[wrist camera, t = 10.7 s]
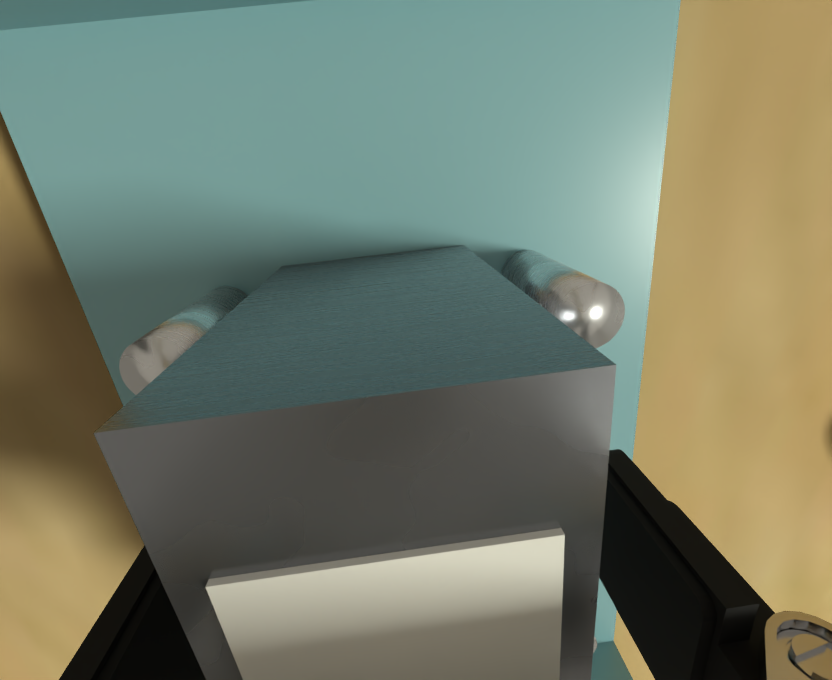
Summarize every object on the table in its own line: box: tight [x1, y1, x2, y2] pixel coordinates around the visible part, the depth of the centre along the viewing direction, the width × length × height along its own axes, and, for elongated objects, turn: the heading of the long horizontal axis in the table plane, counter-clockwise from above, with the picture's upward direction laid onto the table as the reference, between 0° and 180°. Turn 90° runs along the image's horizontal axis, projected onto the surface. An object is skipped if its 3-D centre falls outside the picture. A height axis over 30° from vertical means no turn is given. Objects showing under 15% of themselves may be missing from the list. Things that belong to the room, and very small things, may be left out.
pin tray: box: [0, 0, 680, 680], centre depth 12 cm, size 26×16×5 cm, turn 6°
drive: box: [94, 245, 616, 680], centre depth 10 cm, size 12×5×8 cm, turn 6°
